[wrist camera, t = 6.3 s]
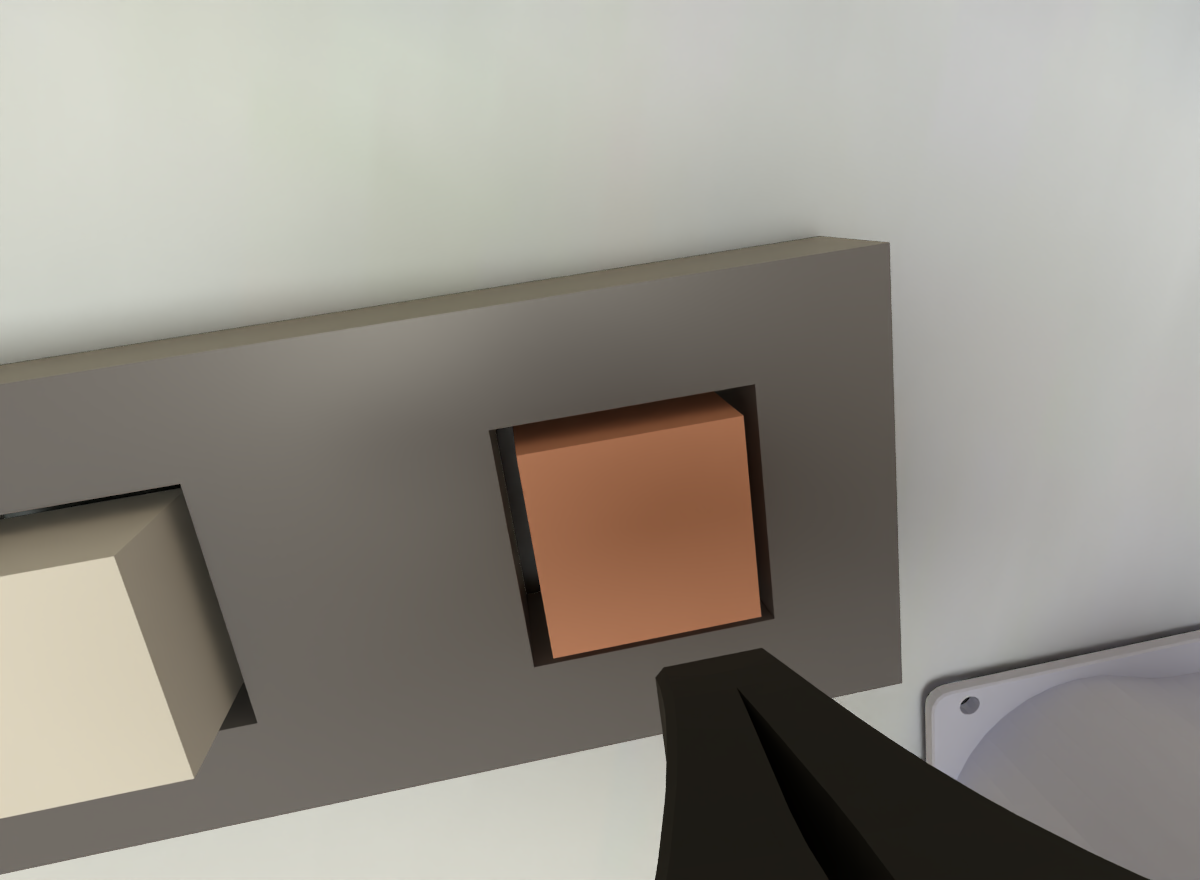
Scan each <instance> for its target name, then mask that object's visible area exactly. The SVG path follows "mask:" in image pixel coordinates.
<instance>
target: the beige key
mask: <svg viewBox="0 0 1200 880" xmlns="http://www.w3.org/2000/svg"><path fill="white" fill-rule="evenodd" d="M243 682H244V679H243V676H242V673H241V670H240V667H239V664H238V661H237V658H236V655H235V652H234V649H233V645H232V642H231V639H230V636H229V633H228V630H227V627H226V624H225V621H224V618H223V615H222V611H221V608H220V605H219V602H218V599H217V596H216V593H215V590H214V587H213V584H212V580H211V577H210V574H209V571H208V568H207V565H206V562H205V559H204V556H203V553H202V550H201V546H200V543H199V540H198V537H197V534H196V531H195V528H194V525H193V522H192V519H191V516H190V512H189V509H188V506H187V503H186V500H185V497H184V494H183V491H182V488H178V489H172V490H166V491H161V492H155V493H149V494H143V495H138V496H132V497H126V498H120V499H115V500H109V501H103V502H97V503H92V504H86V505H80V506H74V507H69V508H63V509H57V510H51V511H46V512H40V513H34V514H28V515H23V516H17V517H11V518H5V519H0V819H1V818H6V817H11V816H16V815H21V814H25V813H30V812H35V811H40V810H45V809H50V808H54V807H59V806H64V805H69V804H74V803H79V802H84V801H88V800H93V799H98V798H103V797H108V796H113V795H117V794H122V793H127V792H132V791H137V790H142V789H147V788H151V787H156V786H161V785H166V784H171V783H176V782H180V781H185V780H190V779H194V778H195V776H196V774H197V772H198V770H199V768H200V767H201V765H202V763H203V761H204V759H205V757H206V755H207V753H208V751H209V749H210V747H211V745H212V743H213V741H214V739H215V737H216V735H217V733H218V731H219V729H220V727H221V725H222V723H223V721H224V719H225V717H226V715H227V714H228V712H229V710H230V708H231V706H232V704H233V702H234V700H235V698H236V696H237V694H238V692H239V690H240V688H241V686H242V684H243Z"/></svg>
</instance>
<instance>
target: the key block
mask: <svg viewBox="0 0 1200 880" xmlns="http://www.w3.org/2000/svg"><path fill="white" fill-rule="evenodd" d="M712 391H714V392H715V393H716V394H718V395H719V396H720V397H721V398H722V399H724V400H725V401H726V402H727V403H728V404H730V405H731V406H732V407H733V408H735V409H736V410H737V411H738V412H739V413H741V414H742V415H743V416H744V427H745V438H746V450H747V461H748V472H749V483H750V495H751V506H752V517H753V529H754V540H755V551H756V562H757V574H758V585H759V596H760V607H761V617H757V618H752V619H747V620H743V621H738V622H733V623H728V624H723V625H718V626H713V627H708V628H703V629H698V630H693V631H688V632H683V633H678V634H673V635H668V636H663V637H658V638H653V639H648V640H643V641H638V642H633V643H628V644H623V645H618V646H613V647H608V648H603V649H598V650H593V651H588V652H583V653H578V654H573V655H568V656H563V657H559V658H554V659H553V654H552V648H551V643H550V637H549V632H548V627H547V621H546V616H545V610H544V605H543V599H542V594H541V591H540V592H535V593H530V594H526V588H525V583H524V578H523V573H522V567H521V562H520V557H519V551H518V546H517V541H516V536H515V530H514V525H513V520H512V514H511V509H510V504H509V499H508V493H507V488H506V483H505V477H504V472H503V467H502V462H501V456H500V451H499V446H498V441H497V435H496V430H495V429H499V428H505V427H511V426H517V425H522V424H528V423H534V422H540V421H545V420H551V419H557V418H563V417H568V416H574V415H580V414H586V413H591V412H597V411H603V410H609V409H614V408H620V407H626V406H632V405H638V404H643V403H649V402H655V401H661V400H666V399H672V398H678V397H684V396H689V395H695V394H701V393H707V392H712ZM176 484H180V485H181V488H182V491H183V494H184V497H185V500H186V503H187V506H188V509H189V512H190V516H191V519H192V522H193V525H194V528H195V531H196V534H197V537H198V540H199V543H200V546H201V550H202V553H203V556H204V559H205V562H206V565H207V568H208V571H209V574H210V577H211V580H212V584H213V587H214V590H215V593H216V596H217V599H218V602H219V605H220V608H221V611H222V615H223V618H224V621H225V624H226V627H227V630H228V633H229V636H230V639H231V642H232V645H233V649H234V652H235V655H236V658H237V661H238V664H239V667H240V670H241V673H242V676H243V679H244V682H243V684H242V686H241V688H240V690H239V692H238V694H237V696H236V698H235V700H234V702H233V704H232V706H231V708H230V710H229V712H228V714H227V715H226V717H225V719H224V721H223V723H222V725H221V727H220V729H219V731H218V733H217V735H216V737H215V739H214V741H213V743H212V745H211V747H210V749H209V751H208V753H207V755H206V757H205V759H204V761H203V763H202V765H201V767H200V768H199V770H198V772H197V774H196V776H195V778H194V779H190V780H185V781H180V782H176V783H171V784H166V785H161V786H156V787H151V788H147V789H142V790H137V791H132V792H127V793H122V794H117V795H113V796H108V797H103V798H98V799H93V800H88V801H84V802H79V803H74V804H69V805H64V806H59V807H54V808H50V809H45V810H40V811H35V812H30V813H25V814H21V815H16V816H11V817H6V818H1V819H0V874H5V873H10V872H14V871H19V870H24V869H29V868H33V867H38V866H43V865H47V864H52V863H57V862H62V861H66V860H71V859H76V858H80V857H85V856H90V855H95V854H99V853H104V852H109V851H113V850H118V849H123V848H127V847H132V846H137V845H142V844H146V843H151V842H156V841H160V840H165V839H170V838H175V837H179V836H184V835H189V834H193V833H198V832H203V831H208V830H212V829H217V828H222V827H226V826H231V825H236V824H240V823H245V822H250V821H255V820H259V819H264V818H269V817H273V816H278V815H283V814H288V813H292V812H297V811H302V810H306V809H311V808H316V807H320V806H325V805H330V804H335V803H339V802H344V801H349V800H353V799H358V798H363V797H368V796H372V795H377V794H382V793H386V792H391V791H396V790H401V789H405V788H410V787H415V786H419V785H424V784H429V783H433V782H438V781H443V780H448V779H452V778H457V777H462V776H466V775H471V774H476V773H481V772H485V771H490V770H495V769H499V768H504V767H509V766H514V765H518V764H523V763H528V762H532V761H537V760H542V759H546V758H551V757H556V756H561V755H565V754H570V753H575V752H579V751H584V750H589V749H594V748H598V747H603V746H608V745H612V744H617V743H622V742H627V741H631V740H636V739H641V738H645V737H650V736H655V735H659V734H663V732H662V724H661V717H660V709H659V702H658V694H657V687H656V679H655V677H656V676H657V675H658V674H659V672H660V671H661V670H662V669H663V667H668V666H673V665H678V664H683V663H688V662H693V661H698V660H703V659H708V658H713V657H718V656H723V655H728V654H733V653H738V652H743V651H748V650H753V649H758V648H763V649H765V650H766V651H767V652H769V653H770V654H771V655H773V656H774V657H776V658H777V659H778V660H780V661H781V662H782V663H784V664H785V665H787V666H788V667H789V668H791V669H792V670H793V671H795V672H796V673H797V674H799V675H800V676H801V677H803V678H804V679H806V680H807V681H808V682H810V683H811V684H812V685H814V686H815V687H816V688H818V689H819V690H821V691H822V692H823V693H825V694H826V695H827V696H829V697H830V698H834V697H838V696H843V695H848V694H853V693H857V692H862V691H867V690H871V689H876V688H881V687H885V686H890V685H895V684H900V683H902V665H901V630H900V594H899V559H898V524H897V489H896V453H895V418H894V383H893V347H892V312H891V277H890V243H889V242H878V241H867V240H857V239H846V238H835V237H824V236H818V237H811V238H805V239H799V240H792V241H786V242H780V243H773V244H767V245H761V246H754V247H748V248H741V249H735V250H729V251H722V252H716V253H710V254H703V255H697V256H691V257H684V258H678V259H672V260H665V261H659V262H652V263H646V264H640V265H633V266H627V267H621V268H614V269H608V270H602V271H595V272H589V273H583V274H576V275H570V276H563V277H557V278H551V279H544V280H538V281H532V282H525V283H519V284H513V285H506V286H500V287H494V288H487V289H481V290H474V291H468V292H462V293H455V294H449V295H443V296H436V297H430V298H424V299H417V300H411V301H405V302H398V303H392V304H385V305H379V306H373V307H366V308H360V309H354V310H347V311H341V312H335V313H328V314H322V315H315V316H309V317H303V318H296V319H290V320H284V321H277V322H271V323H265V324H258V325H252V326H246V327H239V328H233V329H226V330H220V331H214V332H207V333H201V334H195V335H188V336H182V337H176V338H169V339H163V340H157V341H150V342H144V343H137V344H131V345H125V346H118V347H112V348H106V349H99V350H93V351H87V352H80V353H74V354H68V355H61V356H55V357H48V358H42V359H36V360H29V361H23V362H17V363H10V364H4V365H0V519H4V517H3V515H4V514H9V513H15V512H21V511H27V510H32V509H38V508H44V507H50V506H55V505H61V504H67V503H73V502H78V501H84V500H90V499H96V498H102V497H107V496H113V495H119V494H125V493H130V492H136V491H142V490H148V489H153V488H159V487H165V486H171V485H176Z"/></svg>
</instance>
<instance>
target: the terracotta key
mask: <svg viewBox="0 0 1200 880" xmlns="http://www.w3.org/2000/svg"><path fill="white" fill-rule="evenodd" d="M513 432H514V441H515V449H516V457H517V462H518V468H519V473H520V479H521V484H522V490H523V495H524V501H525V506H526V512H527V517H528V523H529V528H530V533H531V539H532V544H533V550H534V555H535V561H536V566H537V572H538V577H539V583H540V588H541V594H542V599H543V605H544V610H545V616H546V621H547V627H548V632H549V637H550V643H551V648H552V654H553V659H554V658H559V657H563V656H568V655H573V654H578V653H583V652H588V651H593V650H598V649H603V648H608V647H613V646H618V645H623V644H628V643H633V642H638V641H643V640H648V639H653V638H658V637H663V636H668V635H673V634H678V633H683V632H688V631H693V630H698V629H703V628H708V627H713V626H718V625H723V624H728V623H733V622H738V621H743V620H747V619H752V618H757V617H761V607H760V596H759V585H758V574H757V562H756V551H755V540H754V529H753V517H752V506H751V495H750V483H749V472H748V461H747V450H746V438H745V427H744V416H743V415H742V414H741V413H739V412H738V411H737V410H736V409H735V408H733V407H732V406H731V405H730V404H728V403H727V402H726V401H725V400H724V399H722V398H721V397H720V396H719V395H718V394H716V393H715V392H714V391H712V392H707V393H701V394H695V395H689V396H684V397H678V398H672V399H666V400H661V401H655V402H649V403H643V404H638V405H632V406H626V407H620V408H614V409H609V410H603V411H597V412H591V413H586V414H580V415H574V416H568V417H563V418H557V419H551V420H545V421H540V422H534V423H528V424H522V425H517V426H513Z"/></svg>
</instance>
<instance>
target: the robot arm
mask: <svg viewBox="0 0 1200 880" xmlns="http://www.w3.org/2000/svg"><path fill="white" fill-rule="evenodd" d="M655 679H656V687H657V694H658V702H659V709H660V717H661V724H662V732H663V739H664V747H665V754H666V762H667V763H666V793H665V805H664V814H663V822H662V831H661V840H660V849H659V858H658V865H657V871H656V877H655V880H1200V630H1197V631H1192V632H1187V633H1183V634H1178V635H1173V636H1169V637H1164V638H1159V639H1155V640H1150V641H1145V642H1141V643H1136V644H1131V645H1127V646H1122V647H1117V648H1113V649H1108V650H1103V651H1099V652H1094V653H1089V654H1084V655H1080V656H1075V657H1070V658H1066V659H1061V660H1056V661H1052V662H1047V663H1042V664H1038V665H1033V666H1028V667H1024V668H1019V669H1014V670H1010V671H1005V672H1000V673H996V674H991V675H986V676H982V677H977V678H972V679H967V680H963V681H958V682H953V683H949V684H944V685H941V686H939V687H936V688H935V689H934V690H933V691H931V692H930V694H929V695H928V697H927V698H926V703H925V726H926V762H925V761H923V760H922V759H920V758H919V757H917V756H916V755H914V754H912V753H911V752H909V751H908V750H906V749H905V748H903V747H901V746H900V745H898V744H897V743H895V742H894V741H892V740H891V739H889V738H888V737H886V736H885V735H883V734H882V733H880V732H879V731H877V730H876V729H874V728H873V727H871V726H870V725H868V724H867V723H866V722H864V721H863V720H861V719H860V718H858V717H857V716H855V715H854V714H853V713H851V712H850V711H848V710H847V709H845V708H844V707H843V706H841V705H840V704H838V703H837V702H836V701H834V700H833V699H832V698H830V697H829V696H827V695H826V694H825V693H823V692H822V691H821V690H819V689H818V688H816V687H815V686H814V685H812V684H811V683H810V682H808V681H807V680H806V679H804V678H803V677H801V676H800V675H799V674H797V673H796V672H795V671H793V670H792V669H791V668H789V667H788V666H787V665H785V664H784V663H782V662H781V661H780V660H778V659H777V658H776V657H774V656H773V655H771V654H770V653H769V652H767V651H766V650H765V649H763V648H758V649H753V650H748V651H743V652H738V653H733V654H728V655H723V656H718V657H713V658H708V659H703V660H698V661H693V662H688V663H683V664H678V665H673V666H668V667H663V669H662V670H661V671H660V672H659V674H658V675H657V676H656V677H655ZM968 697H970V698H969V700H968V701H967V702H966V703H964V704H962V705H961V703H962V701H963V700H964V699H966V698H968Z"/></svg>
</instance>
